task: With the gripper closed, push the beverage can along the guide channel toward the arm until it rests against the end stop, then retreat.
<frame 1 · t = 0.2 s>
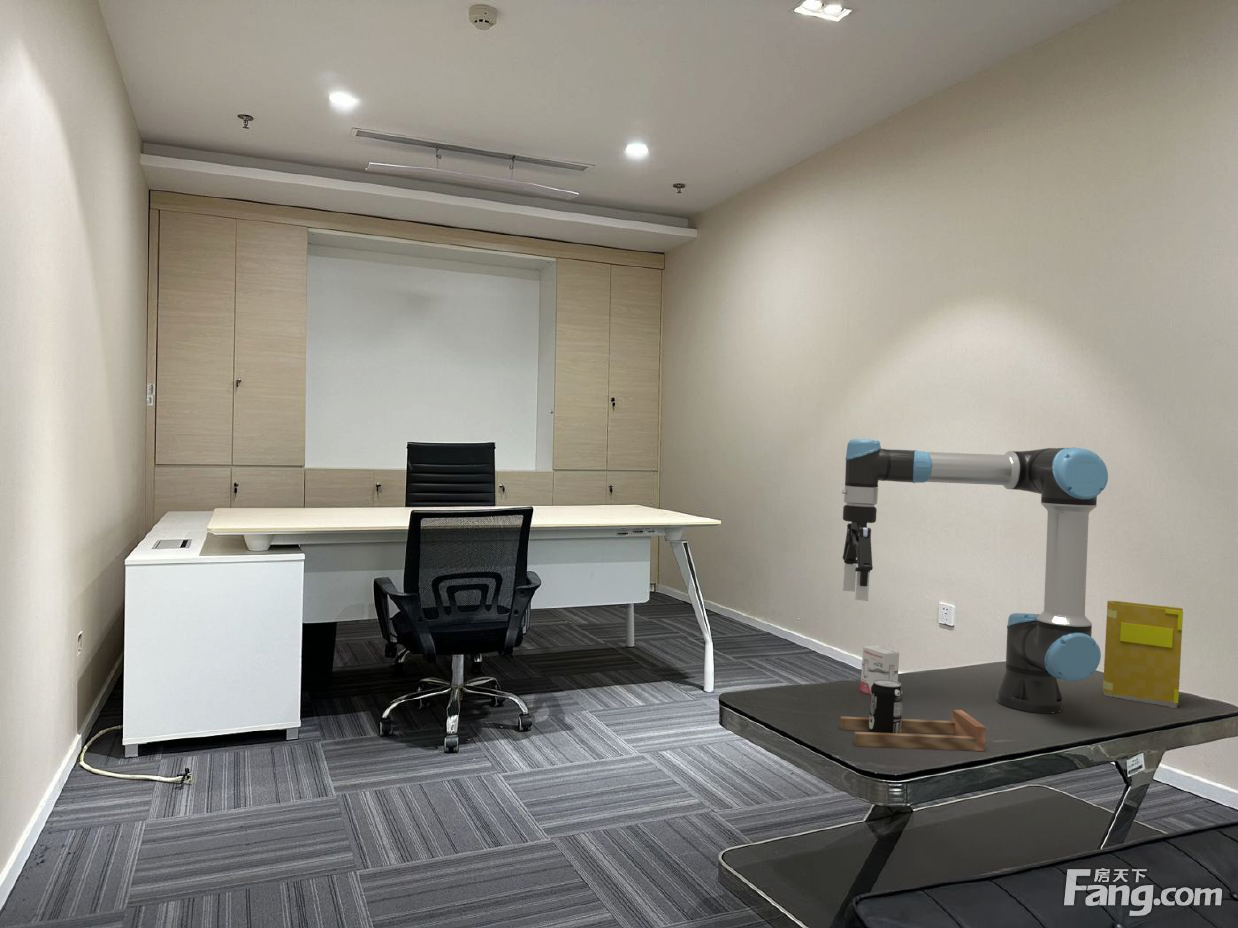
hand: (855, 595, 201), 28 cm above the table, fingers open, 13 cm apart
book: (1139, 700, 226), on the table
beverage can: (884, 738, 184), resting in channel
channel: (909, 738, 184), on the table
ink box: (878, 695, 219), on the table
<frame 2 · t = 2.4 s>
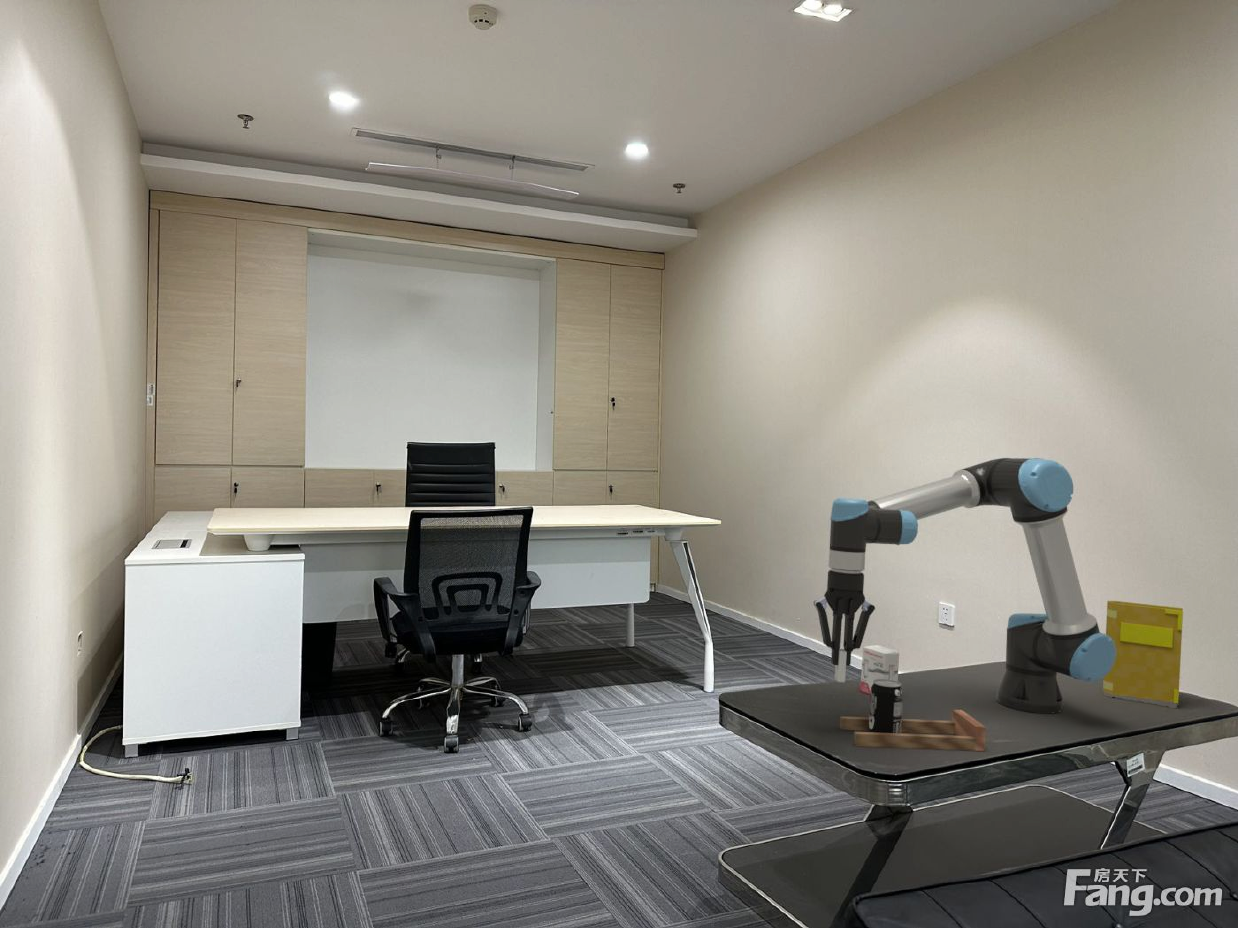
hand: (839, 680, 184), 12 cm above the table, fingers closed
nothing on the table moved.
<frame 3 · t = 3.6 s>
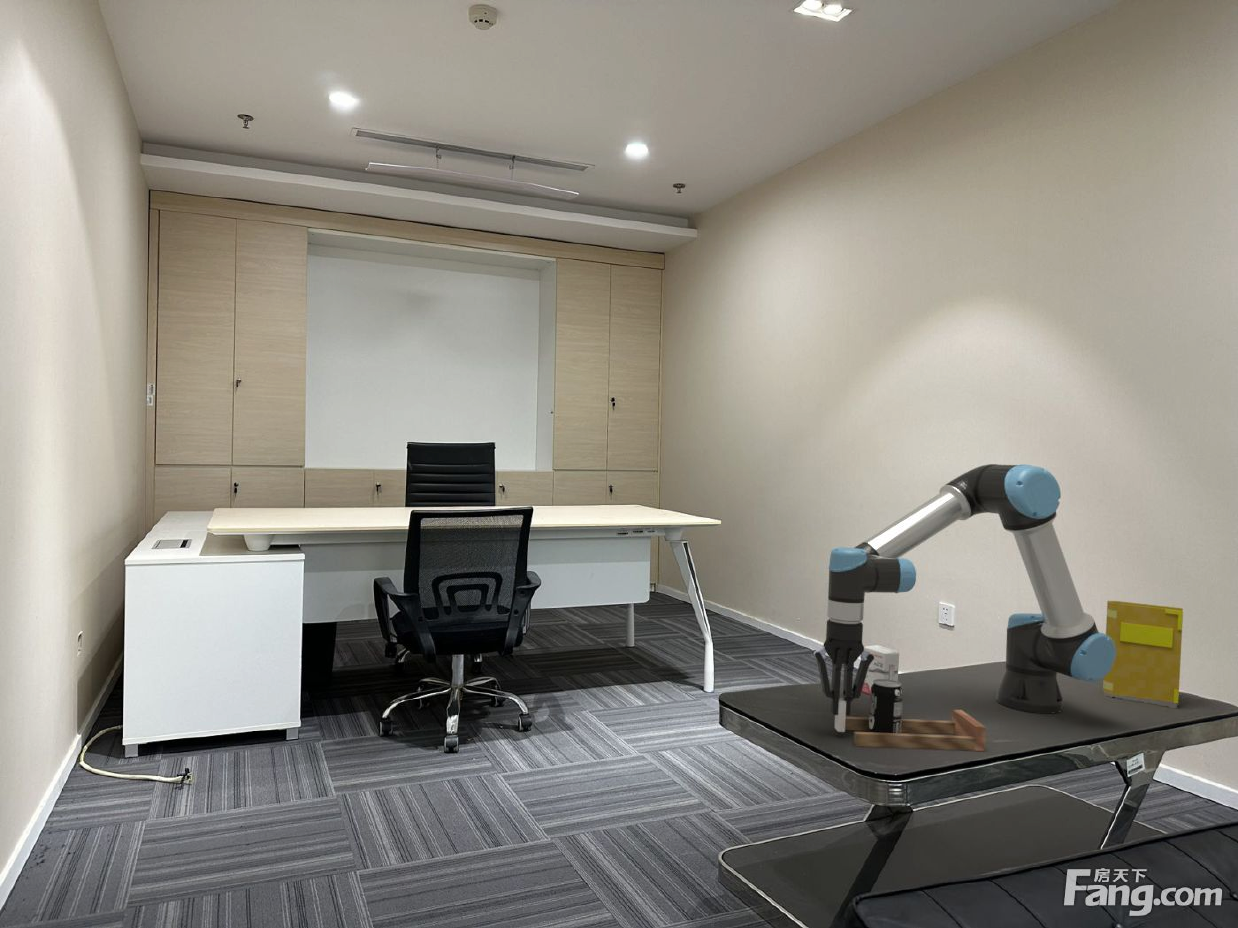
hand: (839, 729, 184), 1 cm above the table, fingers closed
nothing on the table moved.
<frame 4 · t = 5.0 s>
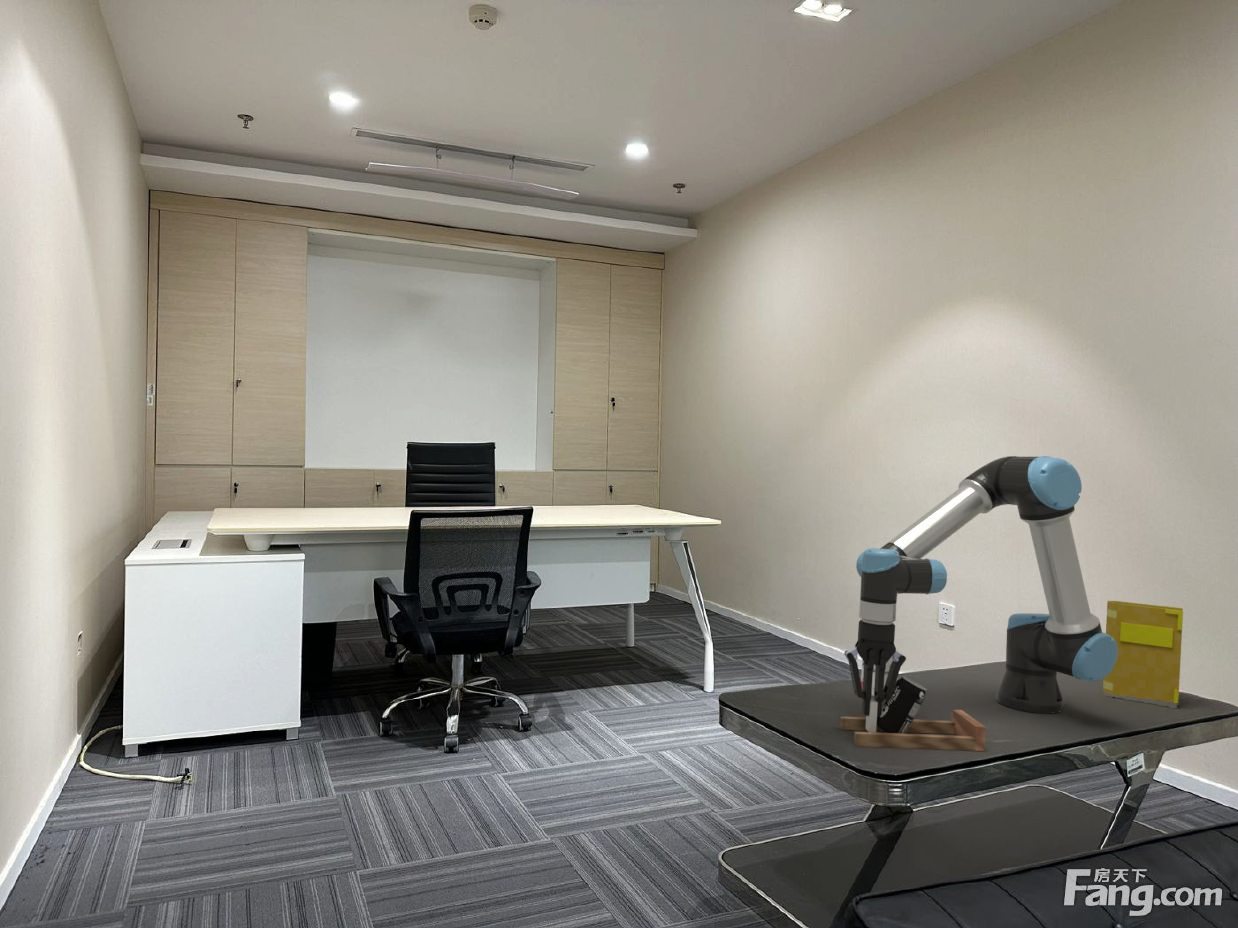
hand: (870, 730, 184), 1 cm above the table, fingers closed
beverage can: (887, 732, 184), point 1 cm above the table, touching gripper
everything else where it was.
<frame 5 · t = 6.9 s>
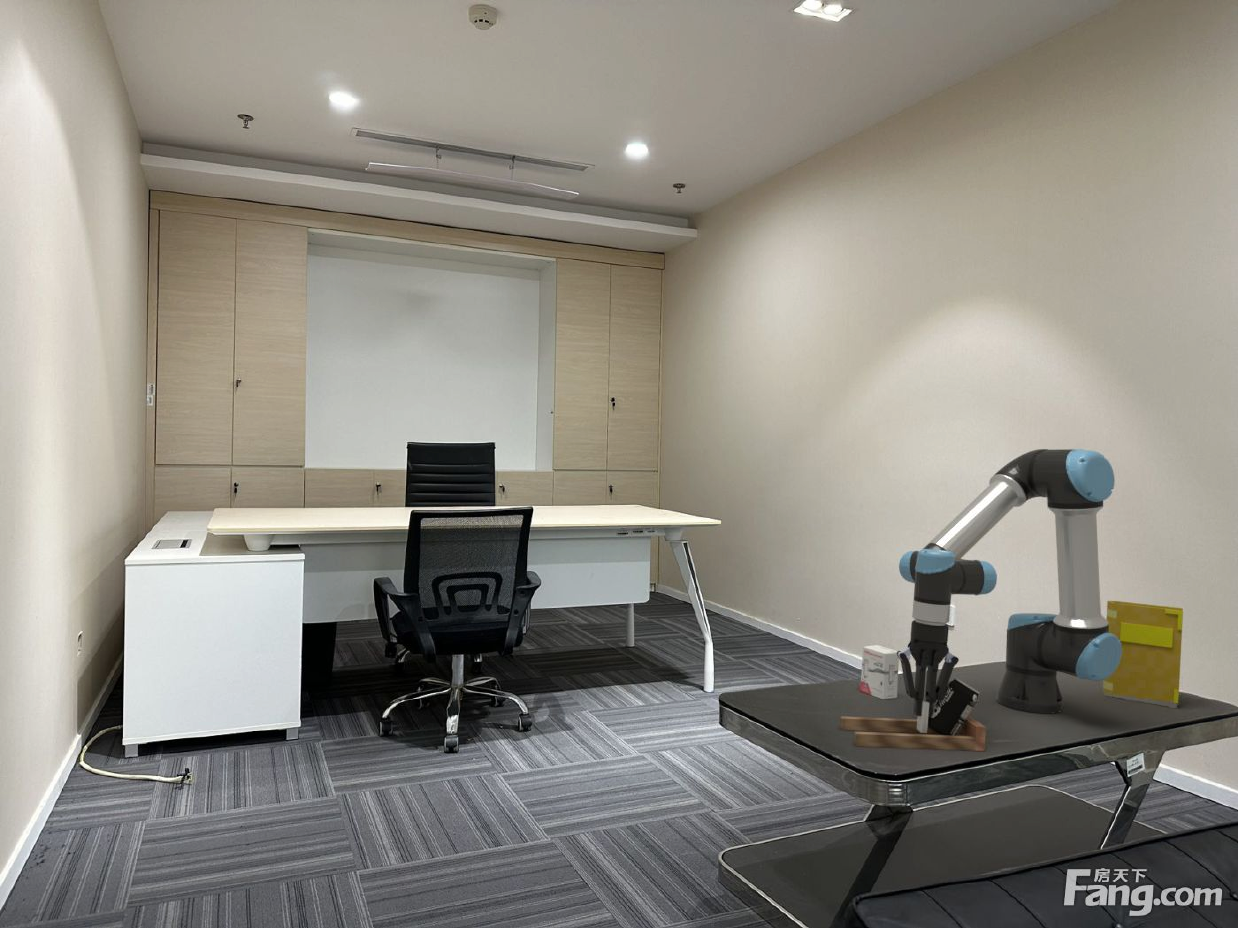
hand: (921, 730, 184), 2 cm above the table, fingers closed
beverage can: (937, 733, 184), point 1 cm above the table, touching channel, gripper
everything else where it was.
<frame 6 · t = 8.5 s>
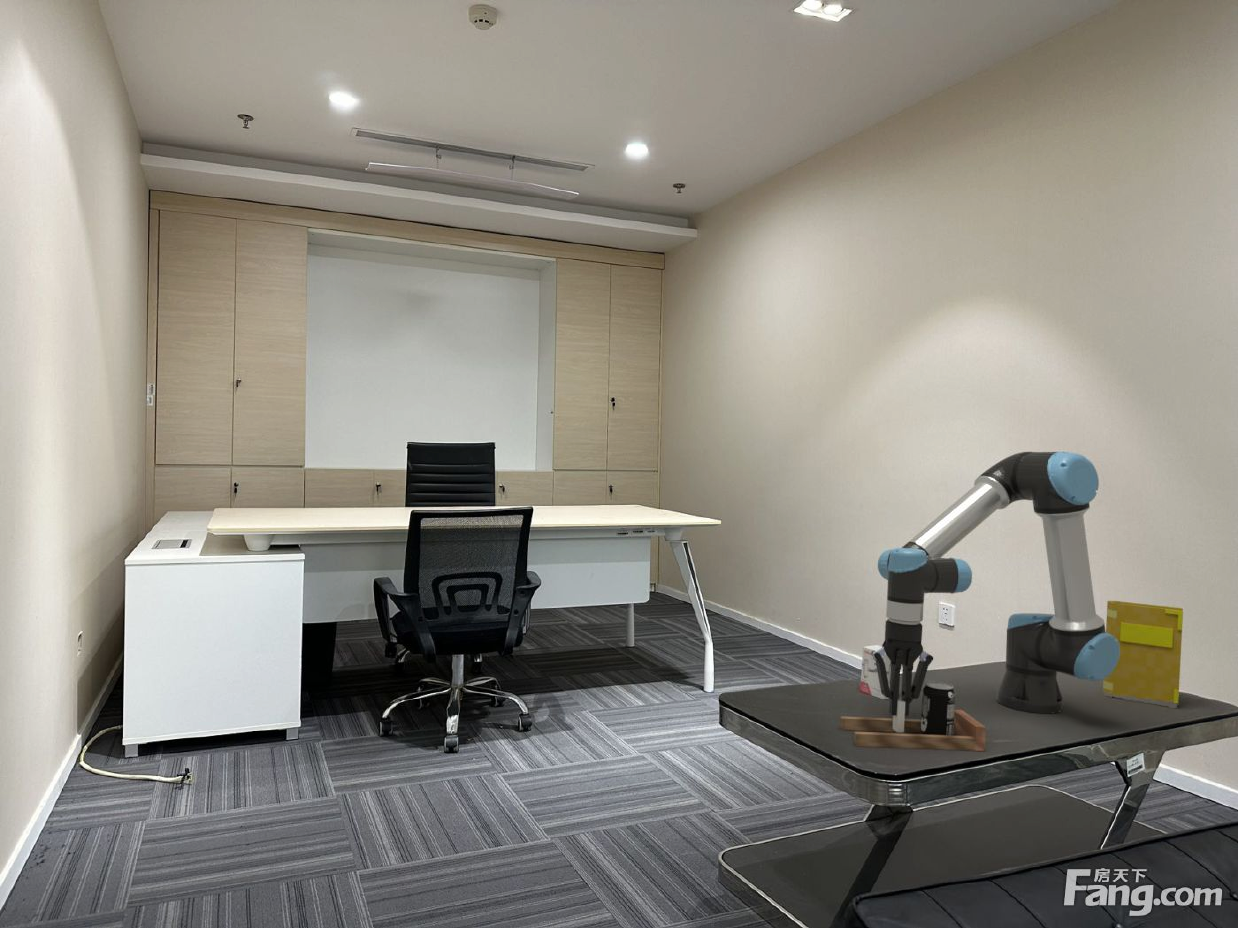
hand: (898, 730, 184), 2 cm above the table, fingers closed
beverage can: (936, 741, 184), resting in channel
everything else where it was.
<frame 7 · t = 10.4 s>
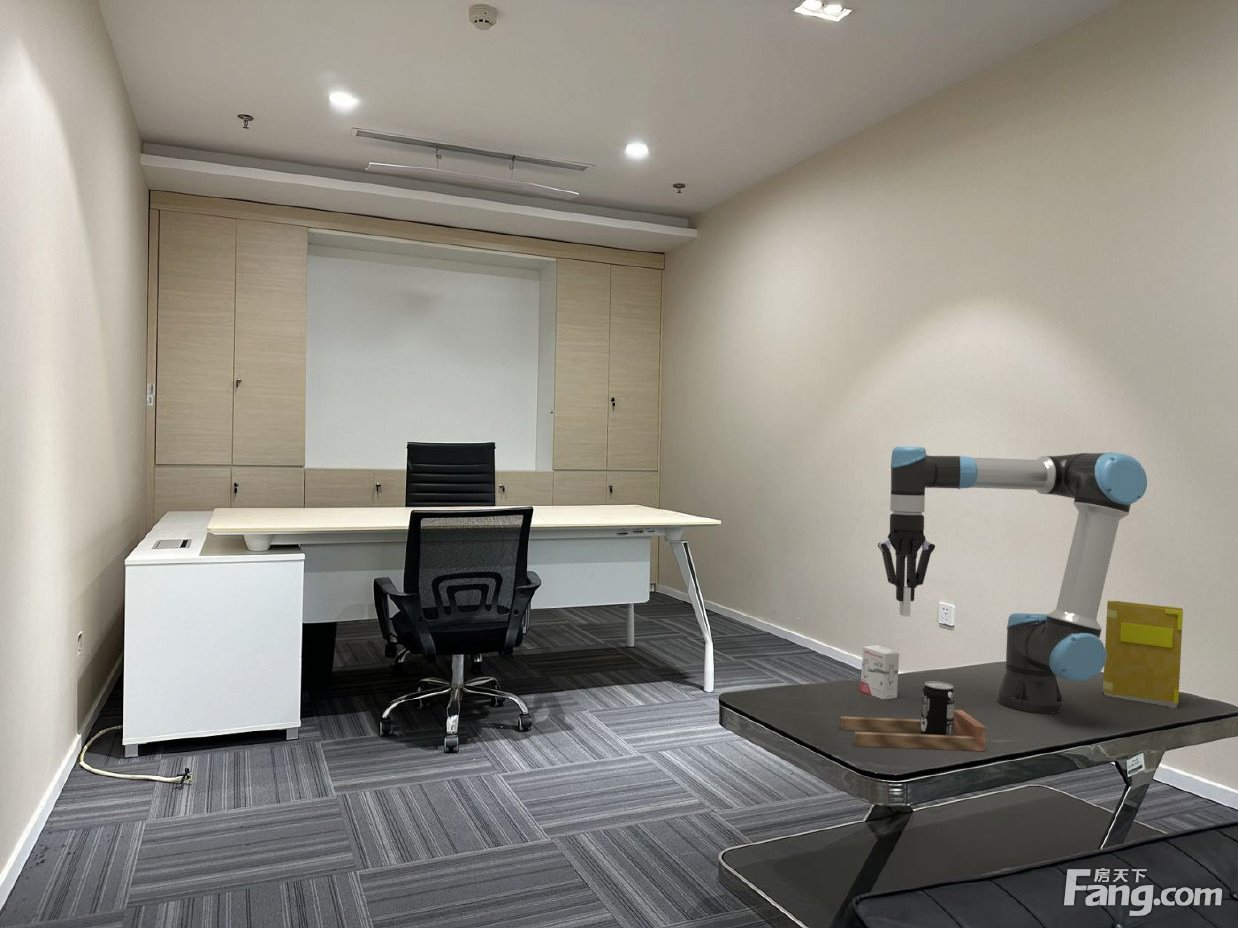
hand: (904, 615, 198), 24 cm above the table, fingers closed
nothing on the table moved.
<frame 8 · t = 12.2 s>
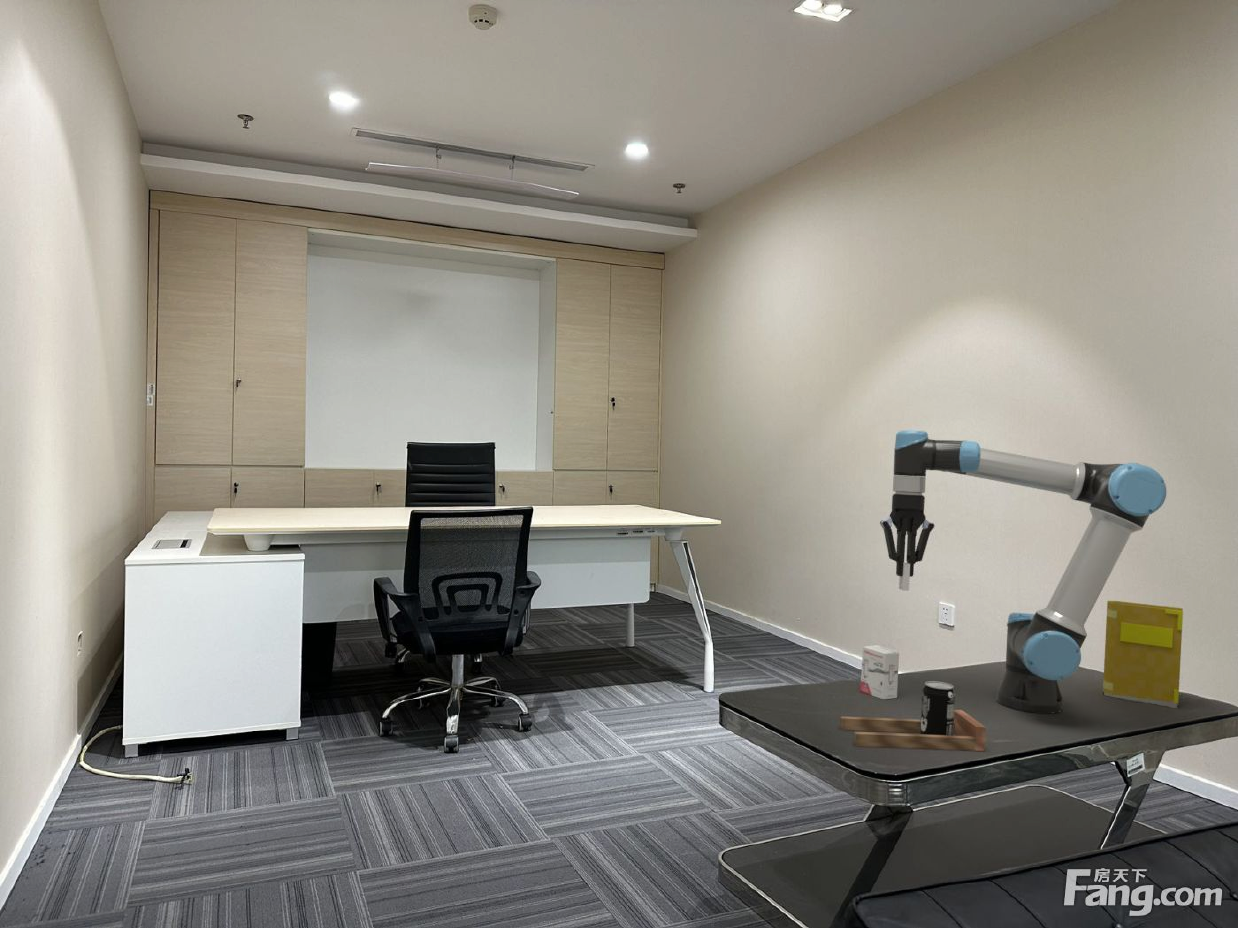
hand: (903, 589, 210), 28 cm above the table, fingers closed
nothing on the table moved.
at the end: beverage can 1.3 cm from the target spot on the channel, point 0.0 cm above the channel's base; beverage can tilted 0° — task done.
